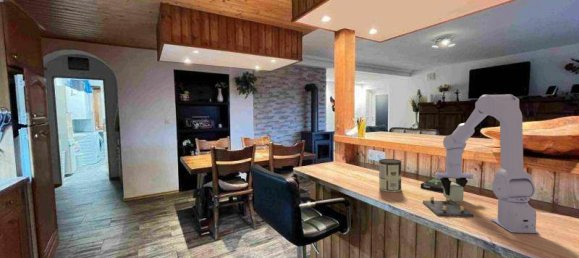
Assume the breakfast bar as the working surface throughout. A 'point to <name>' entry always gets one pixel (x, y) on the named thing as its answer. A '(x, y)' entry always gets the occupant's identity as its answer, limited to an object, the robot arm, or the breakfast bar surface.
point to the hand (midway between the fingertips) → (453, 194)
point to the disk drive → (433, 185)
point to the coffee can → (390, 175)
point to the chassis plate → (447, 208)
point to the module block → (455, 192)
